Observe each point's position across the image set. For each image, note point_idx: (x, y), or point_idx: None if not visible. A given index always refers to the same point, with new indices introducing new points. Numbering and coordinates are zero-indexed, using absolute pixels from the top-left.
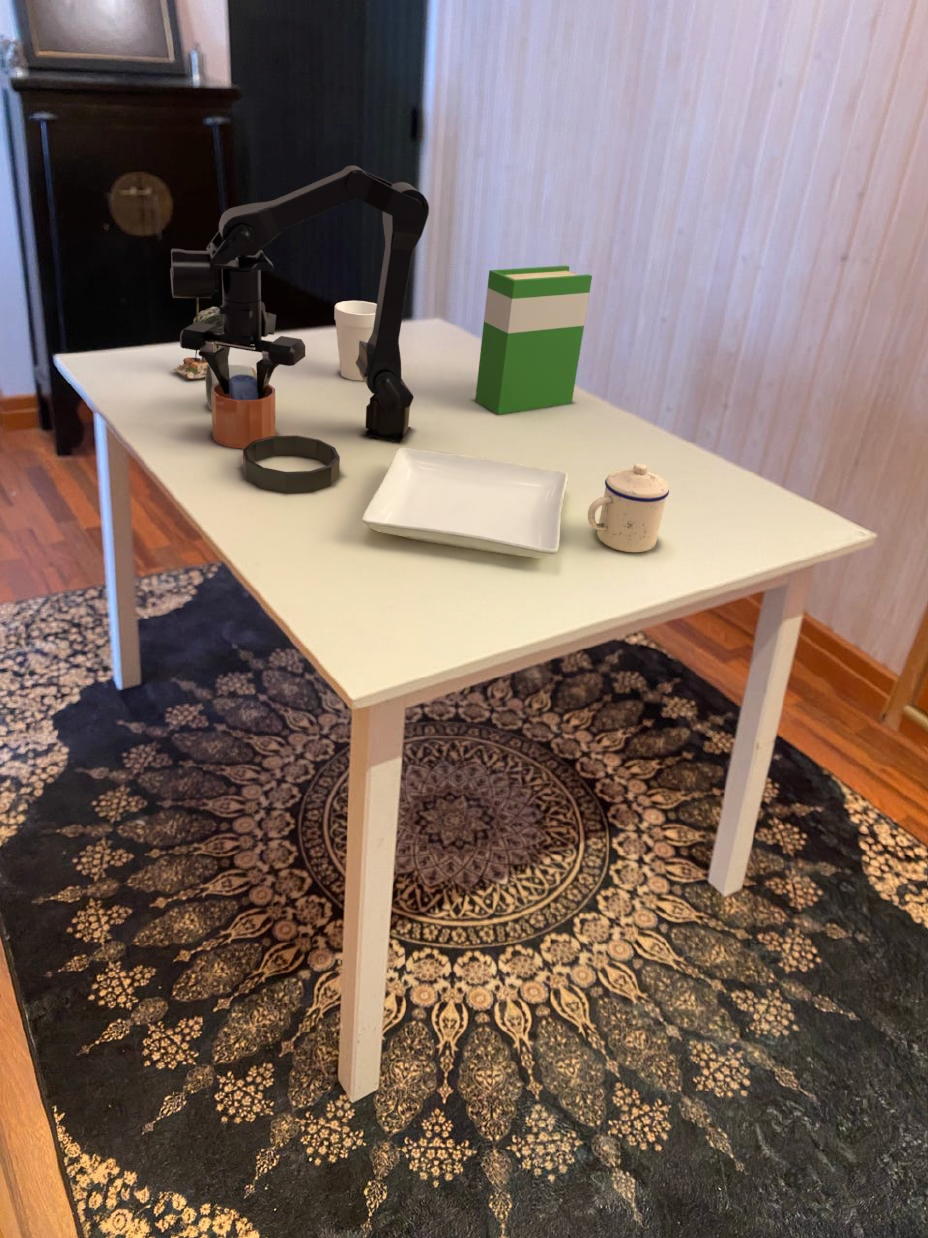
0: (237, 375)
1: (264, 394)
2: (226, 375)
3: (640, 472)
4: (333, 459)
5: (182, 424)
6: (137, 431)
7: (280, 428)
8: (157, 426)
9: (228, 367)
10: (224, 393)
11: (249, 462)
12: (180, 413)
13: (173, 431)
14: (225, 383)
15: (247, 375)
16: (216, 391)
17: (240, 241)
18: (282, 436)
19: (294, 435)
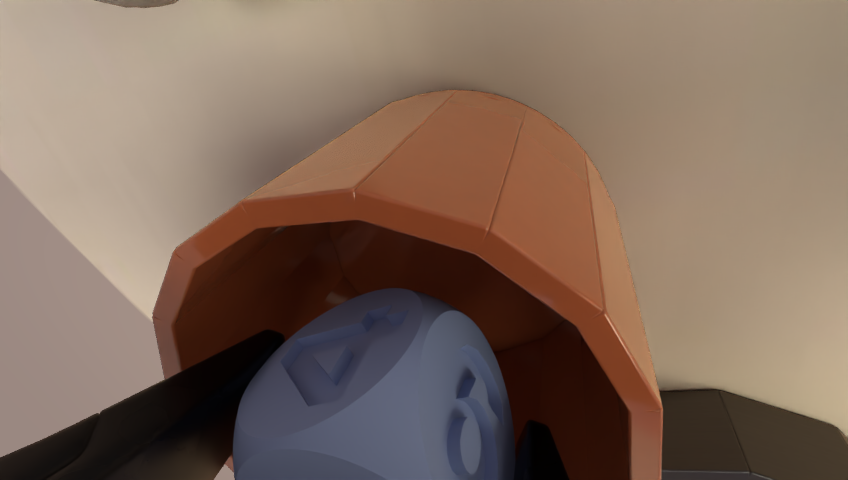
0: (263, 470)
1: (556, 457)
2: (183, 462)
3: None
4: None
5: (179, 147)
6: (100, 240)
7: (646, 89)
8: (120, 186)
9: (118, 477)
10: (246, 245)
11: None
12: (100, 9)
13: (189, 223)
14: (232, 439)
15: (348, 470)
16: (210, 339)
17: None
18: (665, 477)
19: (737, 472)
